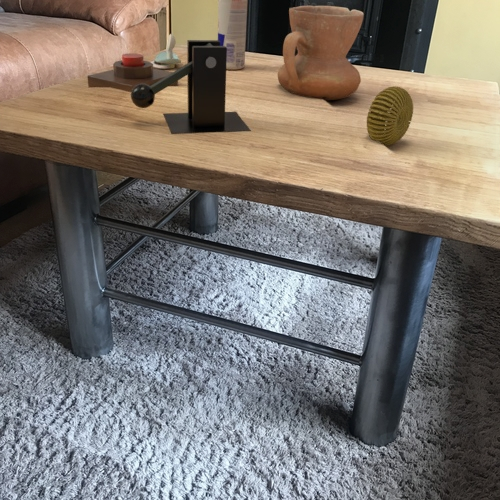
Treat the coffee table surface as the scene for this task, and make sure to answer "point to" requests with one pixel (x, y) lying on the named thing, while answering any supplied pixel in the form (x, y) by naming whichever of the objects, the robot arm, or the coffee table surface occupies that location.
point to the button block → (128, 76)
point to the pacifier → (167, 56)
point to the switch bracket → (206, 93)
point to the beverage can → (233, 31)
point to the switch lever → (157, 86)
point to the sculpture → (390, 115)
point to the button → (132, 60)
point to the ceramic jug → (320, 52)
